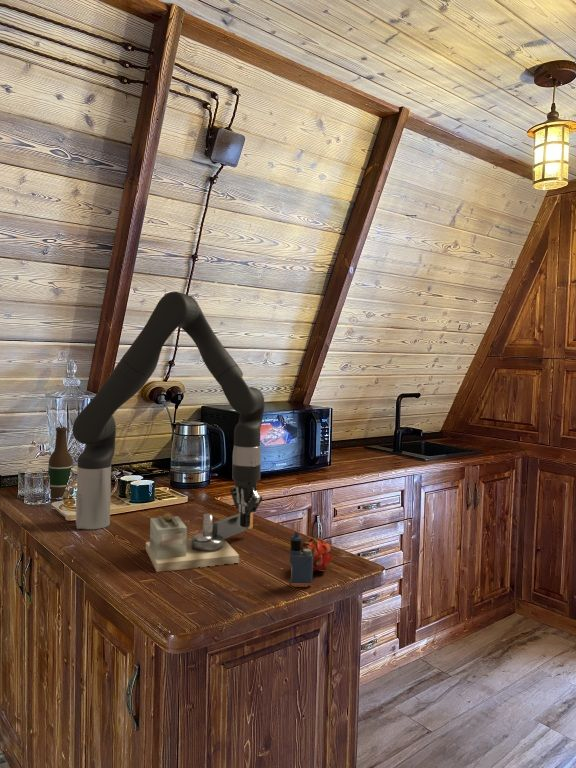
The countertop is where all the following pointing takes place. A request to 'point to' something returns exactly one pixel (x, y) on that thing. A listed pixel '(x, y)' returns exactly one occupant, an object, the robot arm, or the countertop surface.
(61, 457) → the beer bottle
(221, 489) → the countertop surface
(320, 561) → the dragon fruit
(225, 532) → the cam capstan
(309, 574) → the vaping device
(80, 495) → the robot arm
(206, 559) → the stand
